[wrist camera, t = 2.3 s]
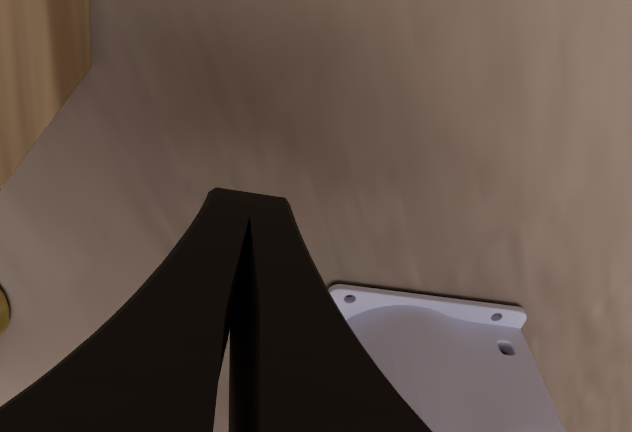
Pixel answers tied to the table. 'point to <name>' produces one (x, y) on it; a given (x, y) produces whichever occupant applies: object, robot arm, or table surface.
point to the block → (37, 69)
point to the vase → (3, 312)
